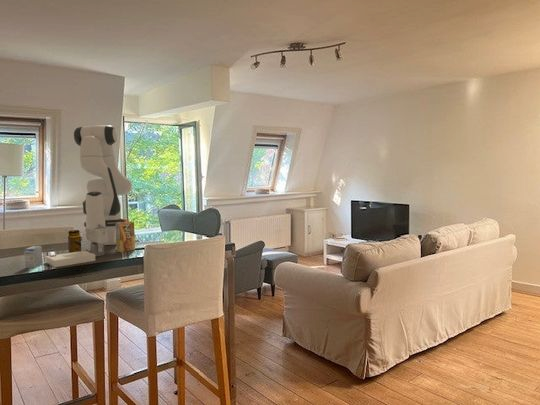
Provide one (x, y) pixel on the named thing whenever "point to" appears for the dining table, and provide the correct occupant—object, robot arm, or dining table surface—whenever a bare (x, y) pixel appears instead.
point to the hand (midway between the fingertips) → (97, 250)
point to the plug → (96, 249)
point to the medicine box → (33, 256)
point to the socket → (70, 258)
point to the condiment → (74, 241)
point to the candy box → (125, 236)
